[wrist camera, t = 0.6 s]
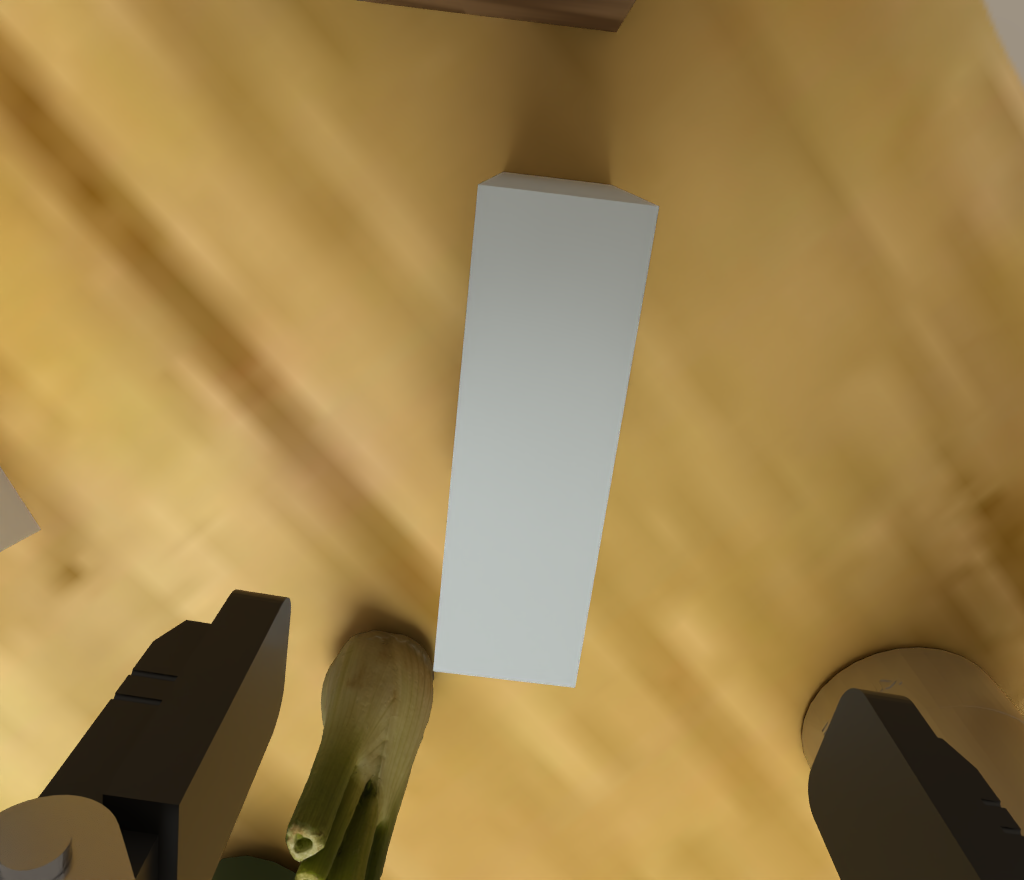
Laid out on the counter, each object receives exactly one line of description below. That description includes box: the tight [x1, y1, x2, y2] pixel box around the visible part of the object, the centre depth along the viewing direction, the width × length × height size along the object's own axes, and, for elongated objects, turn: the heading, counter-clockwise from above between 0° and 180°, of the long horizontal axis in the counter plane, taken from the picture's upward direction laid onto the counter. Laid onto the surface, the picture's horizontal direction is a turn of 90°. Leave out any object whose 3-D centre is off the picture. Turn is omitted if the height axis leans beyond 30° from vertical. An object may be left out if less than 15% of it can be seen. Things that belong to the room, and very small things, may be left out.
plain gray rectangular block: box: [433, 172, 659, 688], centre depth 25 cm, size 4×13×12 cm, turn 174°
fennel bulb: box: [286, 630, 434, 880], centre depth 30 cm, size 6×5×12 cm
